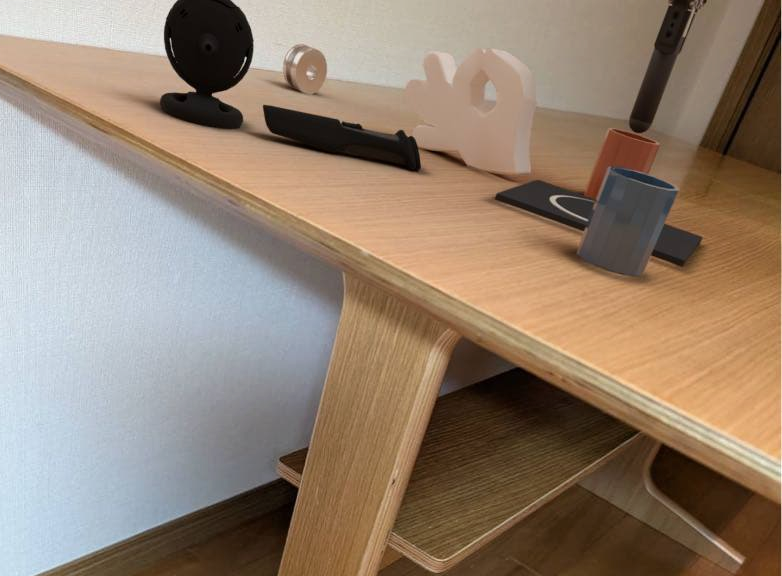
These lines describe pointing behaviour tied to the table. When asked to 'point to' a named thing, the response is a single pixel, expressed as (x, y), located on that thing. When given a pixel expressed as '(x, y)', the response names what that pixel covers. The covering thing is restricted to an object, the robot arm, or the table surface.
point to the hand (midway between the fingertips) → (666, 51)
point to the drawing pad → (578, 209)
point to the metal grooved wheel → (305, 68)
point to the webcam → (207, 59)
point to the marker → (653, 87)
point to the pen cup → (626, 221)
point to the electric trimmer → (342, 136)
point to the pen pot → (621, 156)
